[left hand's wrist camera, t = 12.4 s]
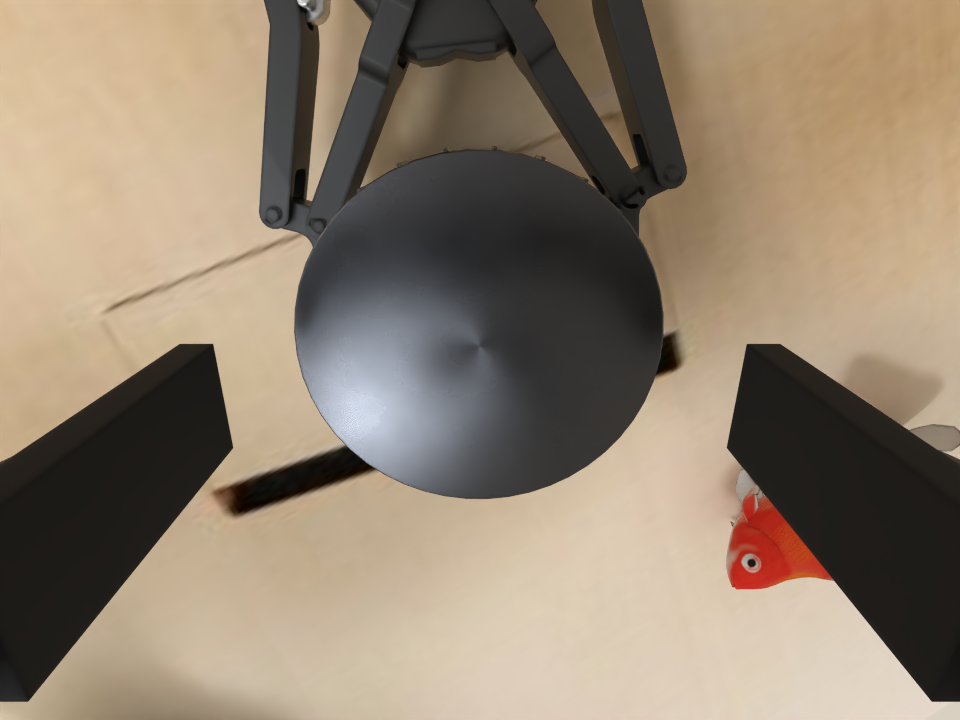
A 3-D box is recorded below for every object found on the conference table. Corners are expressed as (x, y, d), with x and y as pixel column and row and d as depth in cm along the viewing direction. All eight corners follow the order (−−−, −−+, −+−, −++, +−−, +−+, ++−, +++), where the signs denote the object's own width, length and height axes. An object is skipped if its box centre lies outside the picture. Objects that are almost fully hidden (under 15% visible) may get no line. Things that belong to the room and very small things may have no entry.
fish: (688, 443, 30) (864, 591, 23) (871, 335, 35) (1064, 430, 28) (668, 547, 37) (800, 685, 30) (823, 445, 42) (968, 543, 35)
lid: (675, 162, 16) (704, 164, 14) (613, 474, 20) (628, 512, 18) (308, 130, 16) (282, 128, 14) (318, 454, 20) (300, 490, 18)
